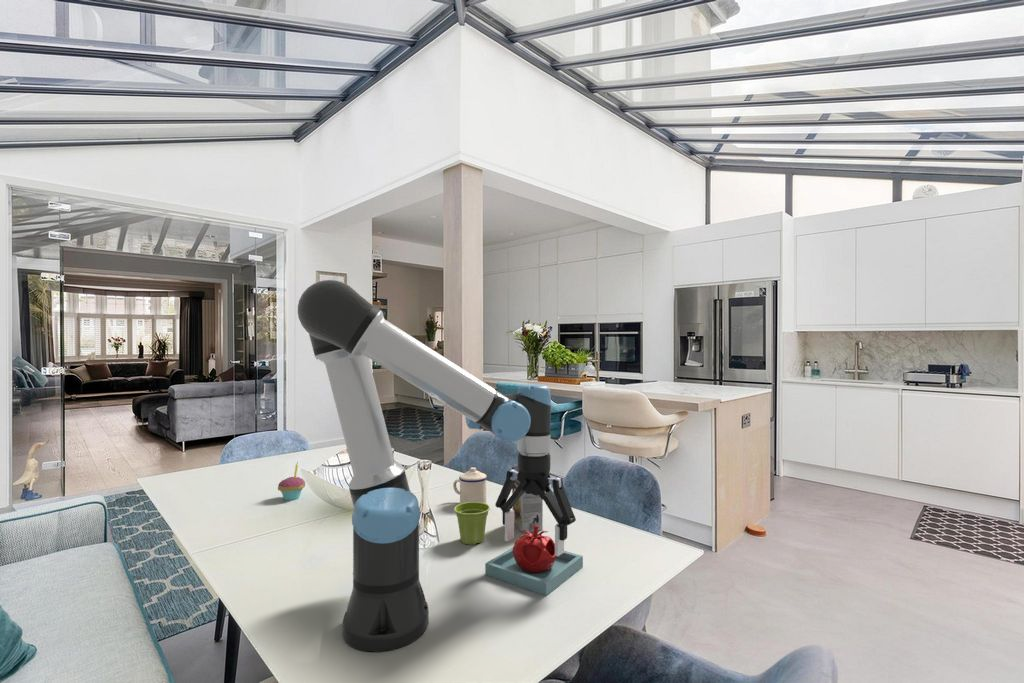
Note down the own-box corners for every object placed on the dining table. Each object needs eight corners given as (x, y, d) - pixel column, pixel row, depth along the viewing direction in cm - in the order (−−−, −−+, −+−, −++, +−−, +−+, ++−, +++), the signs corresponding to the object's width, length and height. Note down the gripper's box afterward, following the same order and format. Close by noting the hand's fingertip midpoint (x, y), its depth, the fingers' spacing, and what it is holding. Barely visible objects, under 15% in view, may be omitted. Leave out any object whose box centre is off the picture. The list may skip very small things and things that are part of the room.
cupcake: (296, 493, 169) (297, 459, 169) (310, 497, 164) (310, 462, 164) (272, 499, 162) (272, 464, 162) (286, 504, 157) (286, 467, 157)
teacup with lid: (491, 501, 159) (491, 466, 159) (478, 509, 150) (478, 472, 151) (460, 496, 164) (460, 462, 164) (446, 504, 156) (446, 468, 156)
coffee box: (511, 521, 140) (511, 466, 140) (532, 519, 142) (531, 464, 142) (521, 533, 131) (521, 474, 131) (543, 530, 133) (543, 472, 133)
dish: (546, 595, 97) (546, 583, 98) (485, 574, 107) (485, 563, 107) (582, 566, 110) (582, 555, 110) (525, 550, 120) (525, 540, 120)
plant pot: (484, 549, 121) (484, 514, 121) (449, 546, 123) (449, 512, 123) (493, 535, 130) (493, 503, 130) (460, 532, 132) (460, 500, 132)
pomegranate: (506, 562, 111) (505, 522, 112) (545, 555, 115) (544, 516, 115) (523, 580, 102) (522, 536, 102) (564, 571, 106) (563, 529, 106)
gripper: (591, 457, 105) (590, 554, 104) (500, 443, 119) (499, 529, 119) (574, 463, 99) (574, 567, 98) (481, 448, 113) (480, 538, 113)
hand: (533, 546), depth 109 cm, fingers open, 13 cm apart
